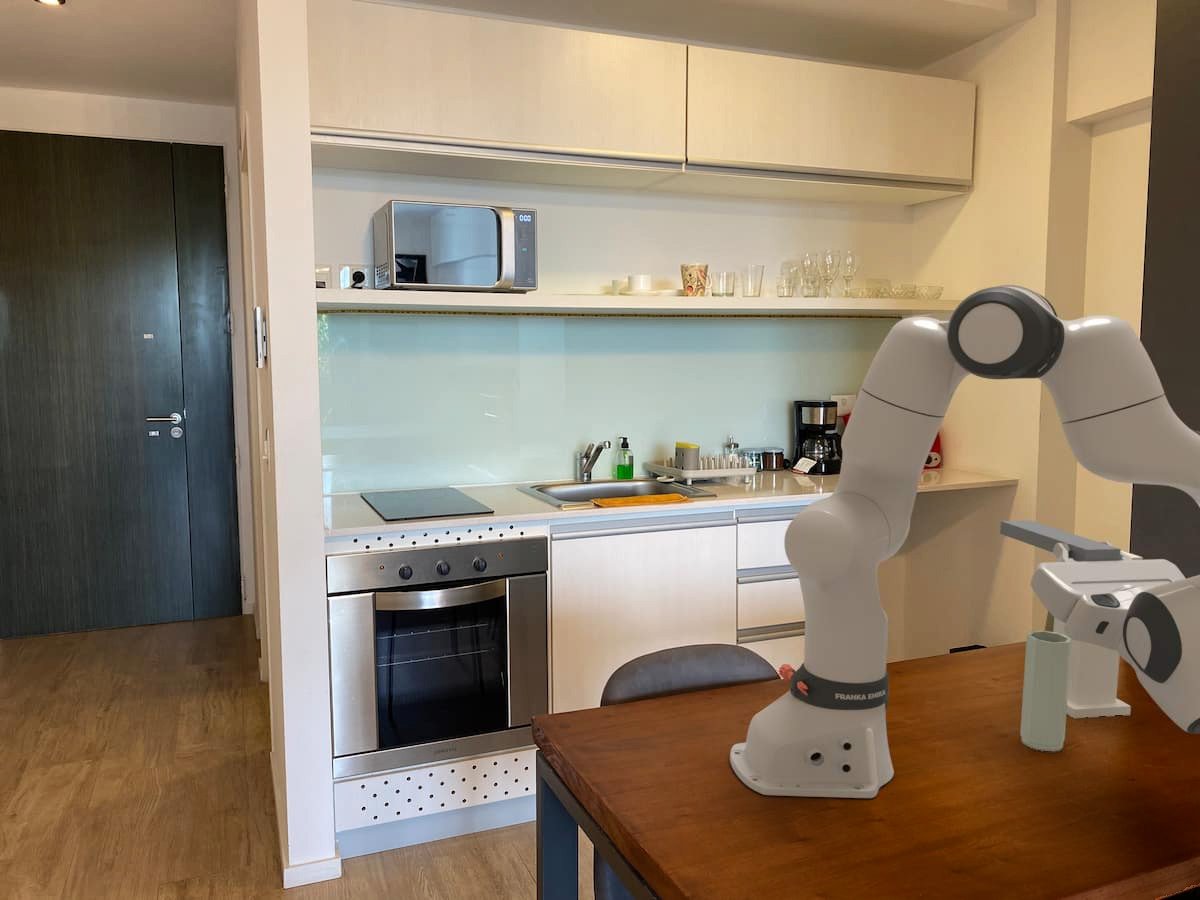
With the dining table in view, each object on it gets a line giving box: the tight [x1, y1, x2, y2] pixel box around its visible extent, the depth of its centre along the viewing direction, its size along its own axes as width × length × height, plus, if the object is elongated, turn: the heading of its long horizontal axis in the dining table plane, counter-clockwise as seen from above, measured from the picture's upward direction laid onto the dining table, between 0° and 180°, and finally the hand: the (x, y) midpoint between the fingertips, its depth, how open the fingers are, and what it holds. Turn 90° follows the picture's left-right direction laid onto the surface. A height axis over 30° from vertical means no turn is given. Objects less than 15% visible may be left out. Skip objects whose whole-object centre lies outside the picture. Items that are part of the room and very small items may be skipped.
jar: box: [1019, 630, 1072, 753], centre depth 136 cm, size 6×6×16 cm
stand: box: [1044, 549, 1144, 719], centre depth 150 cm, size 10×10×26 cm
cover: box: [999, 520, 1122, 562], centre depth 133 cm, size 5×20×2 cm, turn 8°
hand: (1079, 545), depth 128 cm, fingers closed on cover, 5 cm apart
